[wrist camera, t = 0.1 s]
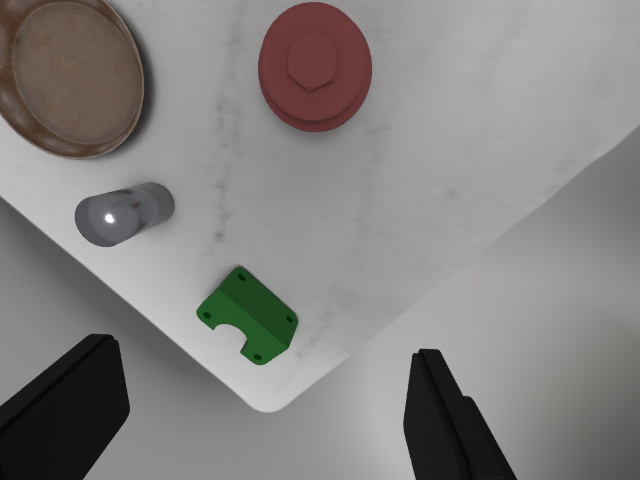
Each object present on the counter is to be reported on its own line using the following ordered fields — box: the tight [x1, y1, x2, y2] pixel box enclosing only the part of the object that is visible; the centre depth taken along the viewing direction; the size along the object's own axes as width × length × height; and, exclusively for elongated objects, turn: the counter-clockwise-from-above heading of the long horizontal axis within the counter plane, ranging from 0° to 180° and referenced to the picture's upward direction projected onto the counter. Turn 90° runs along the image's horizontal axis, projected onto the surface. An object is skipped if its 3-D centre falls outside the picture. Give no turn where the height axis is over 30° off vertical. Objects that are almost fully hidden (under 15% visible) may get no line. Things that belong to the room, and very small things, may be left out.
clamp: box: [196, 268, 298, 365], centre depth 42 cm, size 12×6×9 cm, turn 38°
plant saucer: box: [0, 0, 145, 160], centre depth 36 cm, size 18×18×3 cm
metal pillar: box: [75, 183, 174, 247], centre depth 36 cm, size 5×5×10 cm
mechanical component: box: [258, 2, 372, 132], centre depth 30 cm, size 12×10×10 cm
